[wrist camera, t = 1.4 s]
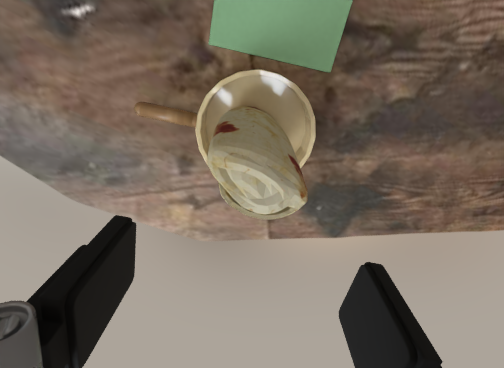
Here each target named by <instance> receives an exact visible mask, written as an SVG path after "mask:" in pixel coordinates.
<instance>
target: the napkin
mask: <svg viewBox="0 0 504 368" xmlns="http://www.w3.org/2000/svg"><path fill="white" fill-rule="evenodd" d="M352 1H353V0H214V6H213V14H212V22H211V30H210V38H209V45H213V46H218V47H222V48H226V49H230V50H235V51H239V52H243V53H247V54H252V55H256V56H260V57H264V58H269V59H273V60H277V61H281V62H286V63H290V64H294V65H298V66H303V67H307V68H311V69H315V70H320V71H324V72H328V73H330V72H331V69H332V65H333V62H334V59H335V56H336V52H337V49H338V46H339V43H340V39H341V36H342V33H343V30H344V27H345V23H346V20H347V17H348V14H349V10H350V7H351V4H352Z"/></svg>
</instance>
